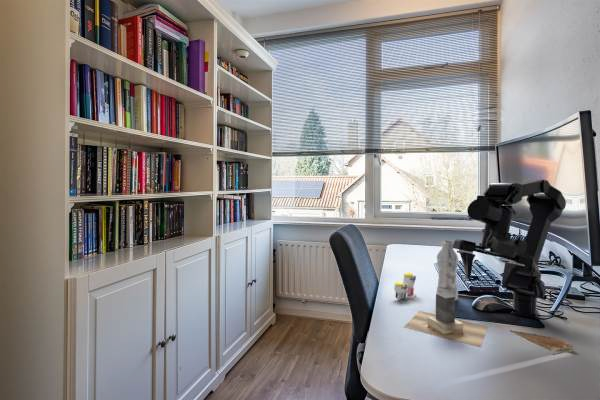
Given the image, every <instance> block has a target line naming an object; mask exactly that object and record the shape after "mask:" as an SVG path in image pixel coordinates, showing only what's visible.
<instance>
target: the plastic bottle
mask: <svg viewBox="0 0 600 400" xmlns="http://www.w3.org/2000/svg"><path fill="white" fill-rule="evenodd" d="M453 243H454V241H451V240H442V241H441V249H440V250H439V251H438V253H437V255H436V260H437V269H438V270H437V271H438V279H437V287H436V293H435V294H438V293H447V294H450V295H452V296H454V297H455V302H457V300H458V297H459V291H458V287H457V286H458V285H457V269H458V264H459V256H458V254H457V252H456V251H455V250H454V248H453Z"/></svg>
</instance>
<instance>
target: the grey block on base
mask: <svg viewBox="0 0 600 400" xmlns="http://www.w3.org/2000/svg"><path fill="white" fill-rule="evenodd" d="M435 314H436V316H432V317H428V326H429V327H430V328H432V329H434V330H435V331H437V332H439V333H440V334H442V335H444V336H446V335H452V334H457V333H462V332H463V323H462V322H460V321H458V320H456V319H457V318H456V301H455V297H454V296H452V295H450V294H447V293H438V294H437V293H435Z"/></svg>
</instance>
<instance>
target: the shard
mask: <svg viewBox="0 0 600 400" xmlns="http://www.w3.org/2000/svg"><path fill="white" fill-rule="evenodd" d="M509 332H511V333H513V334H514V335H515V334H516V335H517V336H519V337H521V338H525V339H526V340H527V341H529V342H532V343H534V344H536V345H538V346H540V347H542V348H544V349H547V350H549V351H552V352H556V353H553V354H552V355H553V356H556V355H559V354H564V353H571V352H573V350H574V348H575V346H574V345H572V344H571V343H568V342H565V341H563V340H561V339H559V338H556V337H552V336H548V335H547V336H546V335H543V334H542V335H541V334H536V333H528V332H523V331H515V330H512V329H511V330H509ZM562 350H565V351H562ZM557 351H560V352H557Z"/></svg>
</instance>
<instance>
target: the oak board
mask: <svg viewBox="0 0 600 400" xmlns="http://www.w3.org/2000/svg"><path fill="white" fill-rule="evenodd" d="M432 316H436V313H431V312H427V311H426V312H425V311H424V310H423V311H422V310H419V311H417V313H416V314H415V315H414V316H413V317H412V318H411V319H410V320H409V321H408V322H407V323H406V324H405V325H404V326H403V328H404V329H409V330H413V331H417V332H420V333H424V334H428V335H431V336H436V337H440V338H443V339H447V340H452V341H454V342H459V343H461V344H462V343H463V344H466V345H469V346H473V347H478V348H481V347H482V344H483V342H484V338H485V336H486V333H487V330H488V327H489V325H485V324H481V323H477V322H471V321H468V320H462V319H458V318H455V319H456V320H458V321H460V322H462V323H463V332H462V333H457V334H452V335H446V336H444V335H442V334H440V333H439V332H437V331H435V330H434V329H432V328H430V327H429V326H428V317H432Z"/></svg>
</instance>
